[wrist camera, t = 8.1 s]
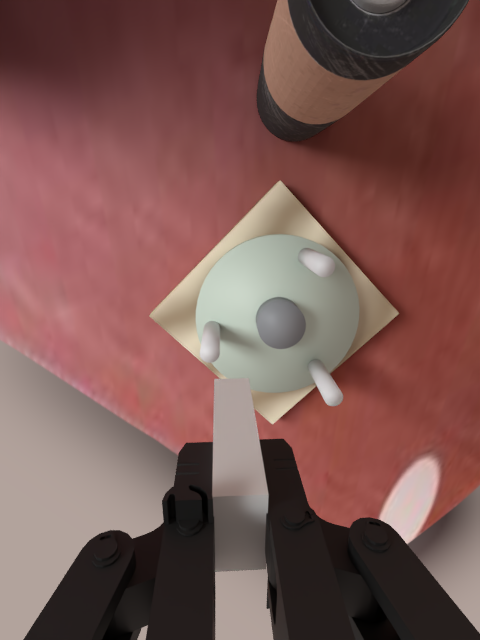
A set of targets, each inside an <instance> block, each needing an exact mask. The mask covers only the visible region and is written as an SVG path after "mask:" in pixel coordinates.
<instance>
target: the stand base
mask: <svg viewBox="0 0 480 640" xmlns="http://www.w3.org/2000/svg"><path fill="white" fill-rule="evenodd" d="M271 234H289V235H294V236H299V237H303V238H305V239H308V240H311V241H314V242H316V243H318V244H320V245H322V246H323V247H325V248H326V249H328V250H329V251H331V252H332V253H333V254H334V255H335V256H336V257H337V258H338V259H339V260H340V261H341V262H342V263H343V264H344V266H345V267H346V268H347V270H348V272H349V273H350V275H351V277H352V279H353V281H354V284H355V286H356V290H357V294H358V299H359V322H358V328H357V331H356V335H355V338H354V340H353V342H352V345H351V347H350V348H349V350H348V352H347V353H346V355H345V357H344V358H343V359H342V360H341V362H340V363H339V364H338V365H337V366H336V367H335V368H334V369H333V370H332V371H331V372H330V373H329V374H331V373H332V372H333V371H334V370H335V369H336V368H338V367H339V366H340V365H341V364H342V363H343V362H344V361H346V360H347V359H348V358H349V357H350V356H351V355H352V354H354V353H355V352H356V351H357V350H358V349H359V348H360V347H362V346H363V345H364V344H365V343H366V342H367V341H368V340H370V339H371V338H372V337H373V336H374V335H375V334H376V333H378V332H379V331H380V330H381V329H382V328H383V327H384V326H386V325H387V324H388V323H389V322H390V321H391V320H392V319H394V318H395V317H396V316H397V315H398V314H399V313H398V312H397V310H396V309H395V308H394V307H393V306H392V305H391V304H390V303H389V301H388V300H387V299H386V298H385V297H384V296H383V295H382V294H381V293H380V291H379V290H378V289H377V288H376V287H375V286H374V285H373V284H372V282H371V281H370V280H369V279H368V278H367V277H366V276H365V275H364V274H363V272H362V271H361V270H360V269H359V268H358V267H357V266H356V265H355V263H354V262H353V261H352V260H351V259H350V258H349V257H348V256H347V254H346V253H345V252H344V251H343V250H342V249H341V248H340V247H339V246H338V244H337V243H336V242H335V241H334V240H333V239H332V238H331V237H330V235H329V234H328V233H327V232H326V231H325V230H324V229H323V228H322V226H321V225H320V224H319V223H318V222H317V221H316V220H315V219H314V218H313V216H312V215H311V214H310V213H309V212H308V211H307V210H306V209H305V207H304V206H303V205H302V204H301V203H300V202H299V201H298V200H297V199H296V197H295V196H294V195H293V194H292V193H291V192H290V191H289V190H288V188H287V187H286V186H285V185H284V184H283V183H282V182H281V181H278V182H277V183H276V184H275V185H274V186H273V187H272V188H271V189H270V190H269V191H268V192H267V193H266V194H265V195H264V196H263V197H262V198H261V199H260V200H259V201H258V202H257V204H256V205H255V206H254V207H253V208H252V209H251V210H250V211H249V212H248V213H247V214H246V215H245V216H244V217H243V218H242V219H241V220H240V221H239V222H238V223H237V224H236V225H235V226H234V227H233V228H232V229H231V230H230V231H229V232H228V233H227V235H226V236H225V237H224V238H223V239H222V240H221V241H220V242H219V243H218V244H217V245H216V246H215V247H214V248H213V249H212V250H211V251H210V252H209V253H208V254H207V255H206V256H205V257H204V258H203V259H202V260H201V261H200V262H199V263H198V265H197V266H196V267H195V268H194V269H193V270H192V271H191V272H190V273H189V274H188V275H187V276H186V277H185V278H184V279H183V280H182V281H181V282H180V283H179V284H178V285H177V286H176V287H175V288H174V289H173V290H172V291H171V292H170V293H169V294H168V296H167V297H166V298H165V299H164V300H163V301H162V302H161V303H160V304H159V305H158V306H157V307H156V308H155V309H154V310H153V311H152V313H151V314H150V315H149V316H150V317H151V318H152V319H153V320H154V321H155V322H157V323H158V324H159V325H160V326H161V327H162V328H163V329H164V330H166V331H167V332H168V333H169V334H170V335H171V336H172V337H174V338H175V339H176V340H177V341H178V342H179V343H180V344H182V345H183V346H184V347H185V348H186V349H187V350H188V351H189V352H191V353H192V354H193V355H194V356H195V357H196V358H197V359H199V360H200V361H201V362H202V363H203V364H204V365H205V366H207V367H208V368H209V369H210V370H211V371H212V372H213V373H214V374H216V375H217V376H218V377H219V378H220V379H228V378H226V377H225V376H224V375H222V374H221V373H220V372H219V371H218V370H217V369H216V368H215V367H214V366H213V364H212V363H208V362H205V361H203V360H202V359H201V357H200V348H201V344H200V341H199V338H198V334H197V328H196V306H197V300H198V297H199V293H200V290H201V287H202V285H203V282H204V280H205V278H206V276H207V275H208V273H209V271H210V270H211V268H212V267H213V266H214V265H215V264H216V262H217V261H218V260H219V259H220V258H221V257H222V256H223V255H224V254H225V253H227V252H228V251H229V250H231V249H232V248H234V247H235V246H237V245H239V244H241V243H243V242H245V241H247V240H250V239H252V238H255V237H259V236H264V235H271ZM316 386H317V385H316V383H313V384H311V385H309V386H306V387H304V388H301V389H298V390H294V391H289V392H280V393H266V392H260V391H255V390H251V394H252V400H253V406H254V409H255V410H257V411H258V412H259V413H260V414H261V415H262V416H263V417H264V418H266V419H267V420H268V421H269V422H270V423H271V424H274V423H275V422H276V421H277V420H278V419H279V418H280V417H282V416H283V415H284V414H285V413H286V412H287V411H288V410H290V409H291V408H292V407H293V406H294V405H295V404H296V403H298V402H299V401H300V400H301V399H302V398H303V397H304V396H306V395H307V394H308V393H309V392H310V391H311V390H312V389H314V388H315V387H316Z"/></svg>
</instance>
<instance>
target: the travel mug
mask: <svg viewBox="0 0 480 640" xmlns="http://www.w3.org/2000/svg"><path fill="white" fill-rule="evenodd" d="M468 1H469V0H278V1H277V4H276V8H275V11H274V15H273V19H272V22H271V26H270V29H269V33H268V37H267V40H266V44H265V49H264V54H263V60H262V65H261V71H260V76H259V82H258V89H257V107H258V112H259V115H260V118H261V120H262V122H263V123H264V125H265V126H266V128H267V129H268V130H269V131H270V132H271V133H272V134H274V135H275V136H277V137H278V138H280V139H283V140H286V141H302V140H306V139H308V138H310V137H312V136H314V135H316V134H317V133H319V132H321V131H322V130H324V129H325V128H327V127H328V126H330V125H331V124H333V123H334V122H336V121H337V120H339V119H341V118H342V117H344V116H345V115H346V114H348V113H349V112H350V111H351V110H353V109H354V108H355V107H356V106H358V105H359V104H360V103H361V102H363V101H364V100H365V99H366V98H367V97H369V96H370V95H371V94H372V93H374V92H375V91H376V90H377V89H379V88H380V87H381V86H382V85H383V84H385V83H386V82H387V81H388V80H390V79H391V78H392V77H393V76H395V75H396V74H397V73H398V72H399V71H401V70H402V69H403V68H404V67H406V66H407V65H408V64H409V63H410V62H412V61H413V60H414V59H415V58H417V57H418V56H419V55H420V54H422V53H423V52H424V51H425V50H426V49H428V48H429V47H430V46H431V45H433V44H434V43H435V42H436V41H437V40H438V39H440V38H441V37H442V36H443V35H444V33H445V32H446V31H447V30H448V29H449V28H450V27H451V26H452V25H453V23H454V22H455V21H456V20H457V18H458V17H459V16H460V14H461V13H462V11H463V10H464V8H465V6H466V5H467V3H468Z"/></svg>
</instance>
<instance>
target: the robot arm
mask: <svg viewBox="0 0 480 640" xmlns="http://www.w3.org/2000/svg"><path fill="white" fill-rule="evenodd" d="M162 505H163V517H164V523H163V524H162V525H161V526H160V527H158V528H157V529H155V530H154V531H152V532H150V533H147V534H145V535H142V536H139V537H136V538H133V539H132V538H131V537H130V536H129V535H128V534H127V533H125V532H122V531H120V530H116V531H115V530H113V531H112V530H110V531H107V532H104V533H101V534H99V535H97V536H95V537H94V538H93V539H91V540H90V541H89V542H88V543H87V544H86V545H85V546H84V547H83V549H82V550H81V552H80V553H79V555H78V556H77V558H76V559H75V561H74V562H73V564H72V565H71V567H70V568H69V570H68V572H67V573H66V575H65V576H64V578H63V580H62V581H61V582H60V584H59V586H58V587H57V589H56V590H55V592H54V593H53V595H52V597H51V598H50V600H49V601H48V603H47V604H46V606H45V607H44V609H43V610H42V612H41V613H40V615H39V617H38V618H37V619H36V621H35V623H34V624H33V626H32V627H31V629H30V630H29V632H28V633H27V635H26V636H25V638H24V640H137V638H138V636H139V633H140V631H141V628H142V627H144V626H147V625H148V629H147V636H146V640H215V572H219V571H239V570H258V569H266V564H267V572H268V589H267V609H268V608H270V614H271V622H272V630H273V639H274V640H480V634H479V632H478V631H477V630H476V629H475V627H474V626H473V625H472V624H471V623H470V621H469V620H468V619H467V618H466V616H465V615H464V614H463V613H462V611H460V609H459V608H458V607H457V605H456V604H455V603H454V602H453V600H452V599H451V598H450V597H449V595H448V594H447V593H446V592H445V591H444V589H443V588H442V587H441V586H440V585H439V583H438V582H437V581H436V580H435V578H434V577H433V576H432V575H431V573H430V572H429V571H428V570H427V568H426V567H425V566H424V565H423V563H422V562H421V561H420V560H419V559H418V557H417V556H416V555H415V554H414V552H413V551H412V550H411V549H410V548H409V546H408V545H407V544H406V543H405V541H404V540H403V539H402V538H401V536H400V535H399V534H398V533H397V532H396V531H395V530H394V529H393V528H392V527H391V526H390V525H388V524H387V523H385V522H383V521H381V520H378V519H374V518H370V517H369V518H360V519H358V520H356V521H354V522H353V523H352V525H351V527H350V528H347V527H343V526H339V525H335V524H332V523H329V522H326V521H325V520H323V519H321V518H319V517H318V516H317V515H316V513H315V512H314V510H313V509H311V508H310V506H309V504H308V502H307V498H306V495H305V492H304V488H303V485H302V481H301V478H300V474H299V471H298V469H297V464H296V461H295V457H294V454H293V451H292V448H291V447H290V446H289V444H288V443H287V442H286V441H285V440H284V439H263V440H259V436H258V430H257V424H256V418H255V412H254V406H253V400H252V394H251V389H250V383H249V378H235V379H214V426H213V442H200V443H186V444H185V445H184V447H183V448H182V449H181V451H180V452H179V456H178V462H177V469H176V475H175V482H174V487H172V488H171V489H170V490H169V491H168V492H167V493H166V494H165V496H164V498H163V500H162Z"/></svg>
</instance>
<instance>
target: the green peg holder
mask: <svg viewBox="0 0 480 640" xmlns="http://www.w3.org/2000/svg"><path fill="white" fill-rule="evenodd" d="M358 322H359V299H358V294H357V290H356V286H355V284H354V281H353V279H352V277H351V275H350V273H349V272H348V270H347V268H346V267H345V266H344V264H343V263H342V262H341V261H340V260H339V259H338V258H337V257H336V256H335V255H334V254H333V253H332V252H331V251H329V250H328V249H326V248H325V247H323V246H322V245H320V244H318V243H316V242H314V241H311V240H308V239H305V238H303V237H299V236H294V235H289V234H271V235H264V236H259V237H255V238H252V239H250V240H247V241H245V242H243V243H241V244H239V245H237V246H235V247H234V248H232V249H231V250H229V251H228V252H227V253H225V254H224V255H223V256H222V257H221V258H220V259H219V260H218V261H217V262H216V264H215V265H214V266H213V267H212V268H211V270H210V271H209V273H208V275H207V276H206V278H205V280H204V282H203V285H202V287H201V290H200V293H199V297H198V300H197V306H196V328H197V334H198V338H199V341H200V344H201V348H200V357H201V359H202V360H203V361H205V362H208V363H212V364H213V366H214V367H215V368H216V369H217V370H218V371H219V372H220V373H221V374H222V375H224V376H225V377H226V378H228V379H235V378H249V383H250V389H251V390H255V391H260V392H266V393H280V392H289V391H294V390H298V389H301V388H304V387H306V386H309V385H311V384H313V383H316V385H317V387H318V389H319V391H320V393H321V395H322V397H323V398H324V400H325V402H326V404H328V405H329V406H337V405H339V404H340V403H341V402H342V400H343V394H342V392H341V391H340V389H339V388H338V386H337V384H336V383H335V381H334V380H333V378H332V377H331V375H330V374H329V373H330V372H331V371H332V370H333V369H334V368H335V367H336V366H337V365H338V364H339V363H340V362H341V360H342V359H343V358H344V357H345V355H346V353H347V352H348V350H349V348H350V347H351V345H352V342H353V340H354V338H355V335H356V331H357V328H358Z"/></svg>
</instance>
